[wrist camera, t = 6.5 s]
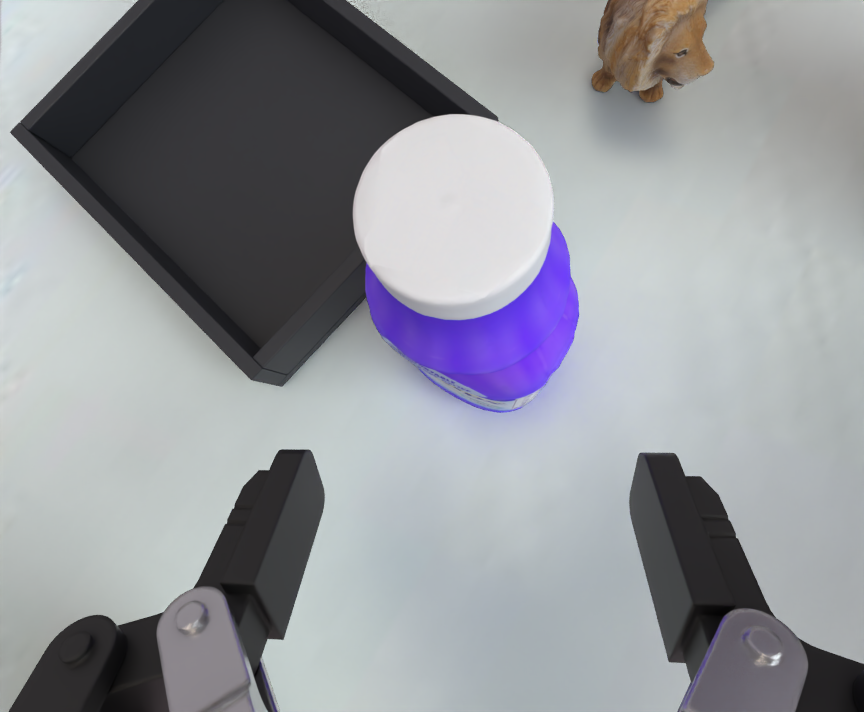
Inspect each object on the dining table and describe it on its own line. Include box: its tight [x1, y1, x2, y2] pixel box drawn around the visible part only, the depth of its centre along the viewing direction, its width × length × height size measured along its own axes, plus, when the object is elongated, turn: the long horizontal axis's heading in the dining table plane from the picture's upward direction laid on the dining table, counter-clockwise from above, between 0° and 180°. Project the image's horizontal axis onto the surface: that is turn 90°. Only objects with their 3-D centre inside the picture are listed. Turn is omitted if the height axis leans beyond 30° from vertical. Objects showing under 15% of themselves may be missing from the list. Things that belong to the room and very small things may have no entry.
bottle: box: [353, 114, 579, 412], centre depth 18 cm, size 7×6×17 cm
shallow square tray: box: [10, 0, 498, 386], centre depth 29 cm, size 18×21×4 cm
